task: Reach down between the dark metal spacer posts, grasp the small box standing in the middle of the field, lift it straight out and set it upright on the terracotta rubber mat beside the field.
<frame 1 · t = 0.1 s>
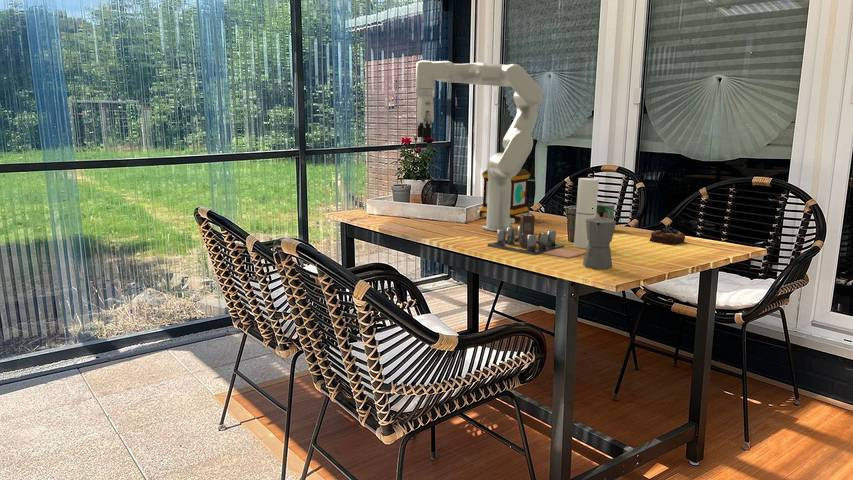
hand: (424, 137, 260), 37 cm above the table, tool pointing down, fingers open, 9 cm apart
coffeepot: (597, 266, 212), on the table
box: (526, 247, 240), resting in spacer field
canned tomato: (603, 230, 280), on the table
white tall block: (583, 247, 243), on the table
mat: (564, 253, 229), on the table
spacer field: (526, 246, 240), on the table
pastry: (666, 242, 257), on the table
decorative lantern: (504, 218, 305), on the table
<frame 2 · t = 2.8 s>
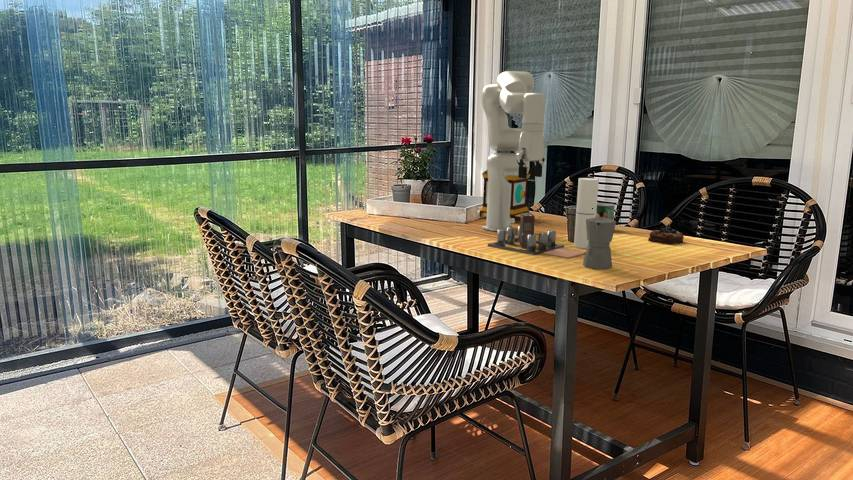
hand: (530, 177, 235), 25 cm above the table, tool pointing down, fingers open, 9 cm apart
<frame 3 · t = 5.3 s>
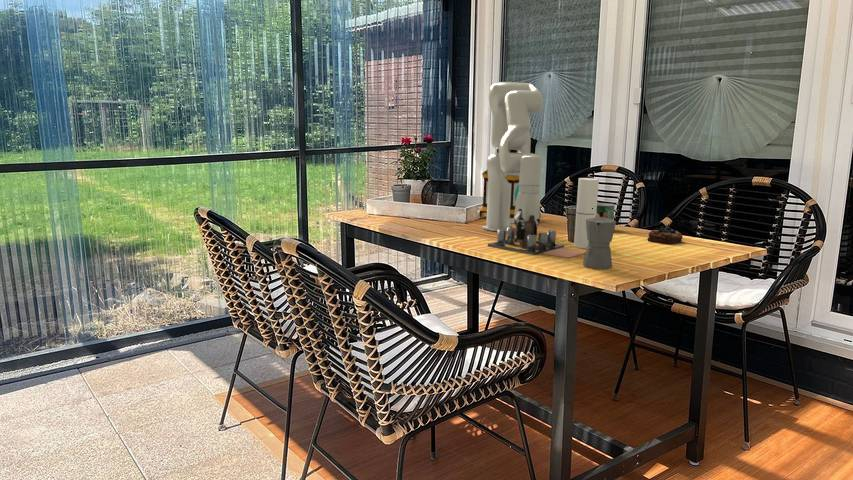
hand: (526, 237, 239), 3 cm above the table, tool pointing down, fingers closed on box, 7 cm apart
box: (526, 247, 240), resting in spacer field, touching gripper
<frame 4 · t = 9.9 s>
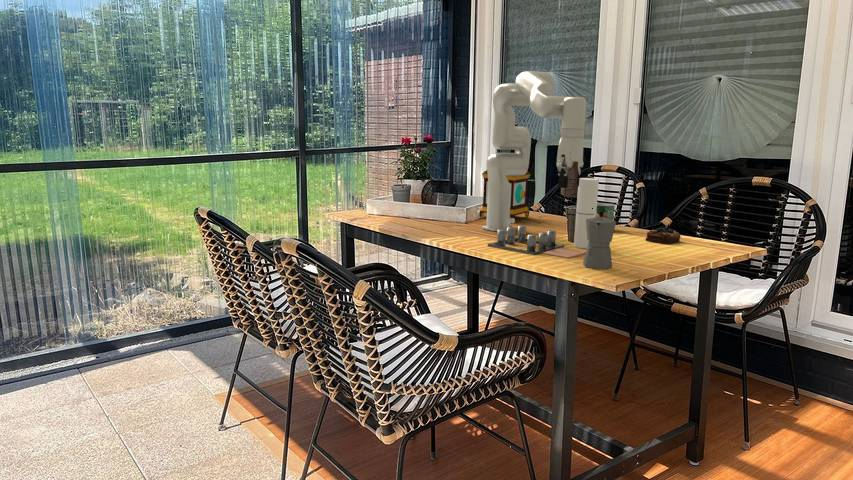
hand: (568, 186, 225), 24 cm above the table, tool pointing down, fingers closed on box, 7 cm apart
box: (568, 196, 225), point 20 cm above the table, touching gripper
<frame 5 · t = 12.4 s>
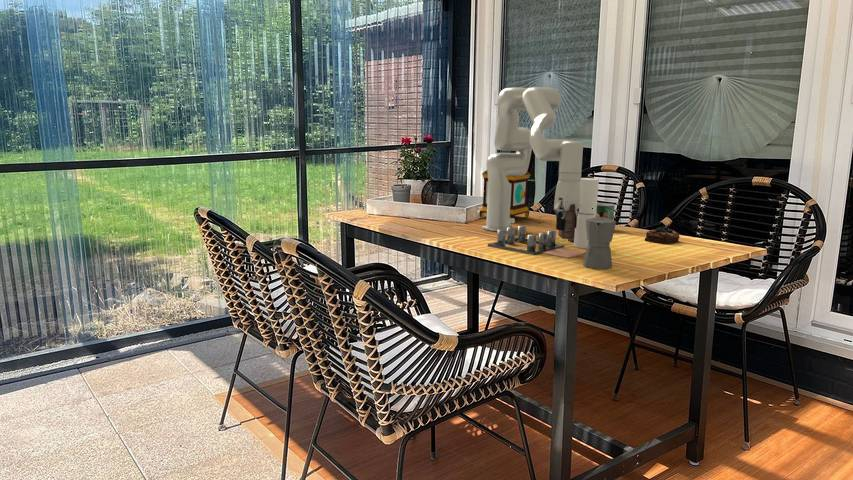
hand: (566, 228, 227), 9 cm above the table, tool pointing down, fingers closed on box, 7 cm apart
box: (565, 238, 228), point 6 cm above the table, touching gripper
when the fingers open (5 cm above the table, at t = 14.3 s): box drops 1 cm, resting on mat.
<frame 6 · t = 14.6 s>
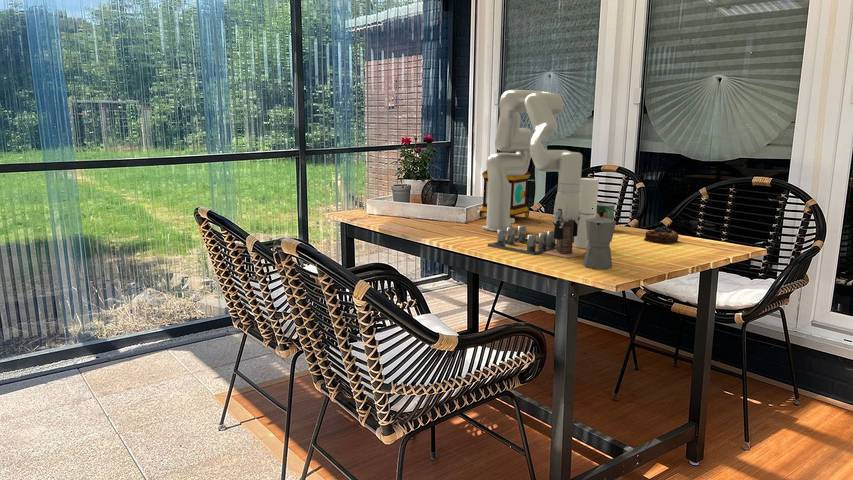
hand: (565, 237, 228), 6 cm above the table, tool pointing down, fingers open, 9 cm apart
box: (563, 252, 229), resting on mat
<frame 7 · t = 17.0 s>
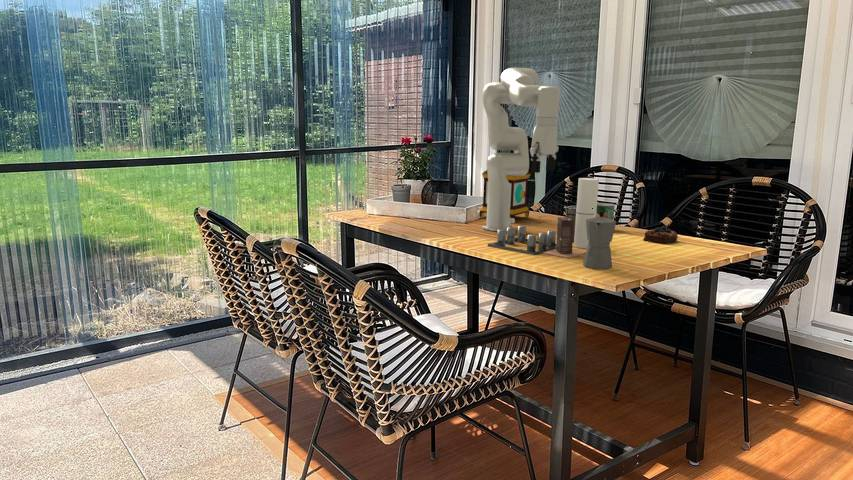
hand: (542, 171, 233), 28 cm above the table, tool pointing down, fingers open, 9 cm apart
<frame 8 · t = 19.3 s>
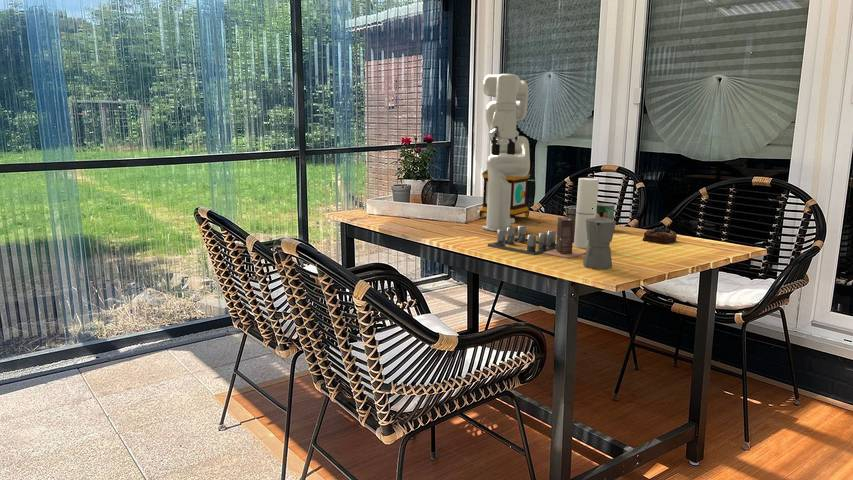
hand: (503, 154, 246), 32 cm above the table, tool pointing down, fingers open, 9 cm apart
at the end: box inside the target area on the mat (0.4 cm from its centre), point 0.3 cm above the mat's base; box tilted 0°; the gripper is holding nothing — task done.
